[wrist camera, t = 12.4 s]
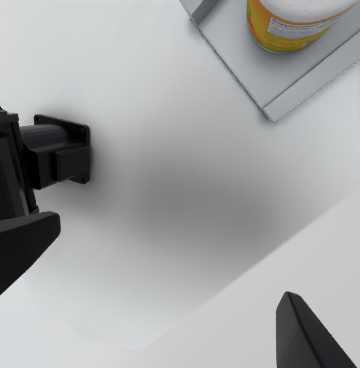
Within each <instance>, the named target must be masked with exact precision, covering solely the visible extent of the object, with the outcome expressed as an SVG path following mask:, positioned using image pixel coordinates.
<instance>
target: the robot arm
mask: <svg viewBox="0 0 360 368" xmlns="http://www.w3.org/2000/svg"><path fill="white" fill-rule="evenodd" d="M18 121H19V117H18V114H17V113H7V111H5V110H3V109H2V108H1V107H0V295H1V294H2V293H3V292H4V291H5V290H6V289H7V288H8V287H10V286H11V285H12V284H13V283H14V282H15V281H16V280H17V279H18V278H19V277H20V276H21V275H22V274H24V273H25V272H26V271H27V270H28V269H29V268H30V267H31V266H32V265H33V264H34V263H35V262H36V260H37V259H38V258H39V257H40V256H41V255H42V254H43V253H44V252H45V250H46V249H47V248H48V247H49V246H50V245H51V244H52V243H53V242H54V240H55V239H56V238H57V237H58V236H59V234H60V232H61V225H60V216H59V214H57V213H54V212H51V211H47V212H42V213H39V208H38V206H37V204H36V200H35V195H34V190H36V189H37V190H41V189H43V188H46V187H48V186H51V185H53V184H55V183H58V182H62V181H65V180H67V179H68V180H71V181H75V182H78V183H81V184H86V183H88V182H89V128H88V127H87V126H86V125H83V124H79V123H75V122H70V121H66V120H62V119H58V118H53V117H49V116H45V115H35V116H34V125H32V126H22V127H19V123H18ZM83 128H84V131H83ZM83 178H84V179H85V180H84V179H83ZM276 358H277V359H276V360H277V368H357V367H356V366H355V365H354V363H353V362H352V361H351V359H350V358H349V357H348V356H347V354H346V353H345V352H344V351H343V349H342V348H341V347H340V346H339V344H338V343H337V342H336V340H335V339H334V338H333V337H332V335H331V334H330V333H329V332H328V330H327V329H326V328H325V327H324V325H323V324H322V323H321V322H320V320H319V319H318V318H317V316H316V315H315V314H314V313H313V311H312V310H311V309H310V308H309V306H308V305H307V304H306V302H305V301H304V300H303V299H302V297H301V296H299V295H298V294H295V293H292V292H288V291H287V292H285V293H284V295H283V297H282V299H281V301H280V303H279V305H278V307H277V310H276Z"/></svg>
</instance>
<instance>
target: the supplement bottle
mask: <svg viewBox="0 0 360 368" xmlns="http://www.w3.org/2000/svg"><path fill="white" fill-rule="evenodd" d="M359 1H360V0H247V23H248V27H249V31H250V33H251V35H252V37H253V39H254V40H255V42H256V43H257V44H258V45H259V46H260V47H262V48H263V49H265V50H267V51H270V52H273V53H278V54H286V53H292V52H295V51H298V50H301V49H303V48H305V47H307V46H308V45H310V44H311V43H313V42H314V41H316V40H317V39H318V38H319V37H321V36H322V35H323V34H324V33H325V32H326V31H327V30H328V29H329V28H331V27H332V26H333V25H334V24H335V23H336V22H337V21H338V20H339V19H341V18H342V17H343V16H344V15H345V14H346V13H347V12H348V11H349V10H350V9H351V8H353V7H354V6H355V5H356V4H357V3H358V2H359Z"/></svg>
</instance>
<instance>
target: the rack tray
mask: <svg viewBox="0 0 360 368" xmlns="http://www.w3.org/2000/svg"><path fill="white" fill-rule="evenodd" d="M179 1H180V2H181V4H182V6H183V7H184V9H185V10H186V12H187V14H188V15H189V17H190V18H191V20H192V21H193V22H194V23H195V25H196V26H197V27H198V29H199V30H200V31H201V32H202V34H203V35H204V36H205V38H206V39H207V40H208V42H209V43H210V44H211V45H212V47H213V48H214V49H215V51H216V52H217V53H218V54H219V56H220V57H221V58H222V60H223V61H224V62H225V63H226V65H227V66H228V67H229V69H230V70H231V71H232V72H233V74H234V75H235V76H236V78H237V79H238V80H239V82H240V83H241V84H242V85H243V87H244V88H245V89H246V91H247V92H248V93H249V94H250V96H251V97H252V98H253V100H254V101H255V102H256V103H257V105H258V106H259V107H260V109H261V110H262V111H263V112H264V114H265V115H266V116H267V118H268V119H269V120H270V121H272V122H273V123H275V122H276V121H278V120H279V119H280V118H282V117H283V116H284V115H286V114H287V113H288V112H290V111H291V110H292V109H294V108H295V107H296V106H298V105H299V104H300V103H302V102H303V101H304V100H306V99H307V98H308V97H310V96H311V95H312V94H314V93H315V92H316V91H318V90H319V89H320V88H322V87H323V86H324V85H325V84H327V83H328V82H329V81H331V80H332V79H333V78H335V77H336V76H337V75H339V74H340V73H341V72H343V71H344V70H345V69H347V68H348V67H349V66H351V65H352V64H353V63H355V62H356V61H357V60H359V59H360V1H359V2H358V3H357V4H356V5H355V6H354V7H353V8H351V9H350V10H349V11H348V12H347V13H346V14H345V15H344V16H343V17H342V18H341V19H339V20H338V21H337V22H336V23H335V24H334V25H333V26H332V27H331V28H329V29H328V30H327V31H326V32H325V33H324V34H323V35H322V36H321V37H319V38H318V39H317V40H316V41H314V42H313V43H311V44H310V45H308V46H307V47H305V48H303V49H301V50H298V51H295V52H292V53H286V54H278V53H273V52H270V51H267V50H265V49H263V48H262V47H260V46H259V45H258V44H257V43H256V42H255V40H254V39H253V37H252V35H251V33H250V31H249V27H248V23H247V0H179Z"/></svg>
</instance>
